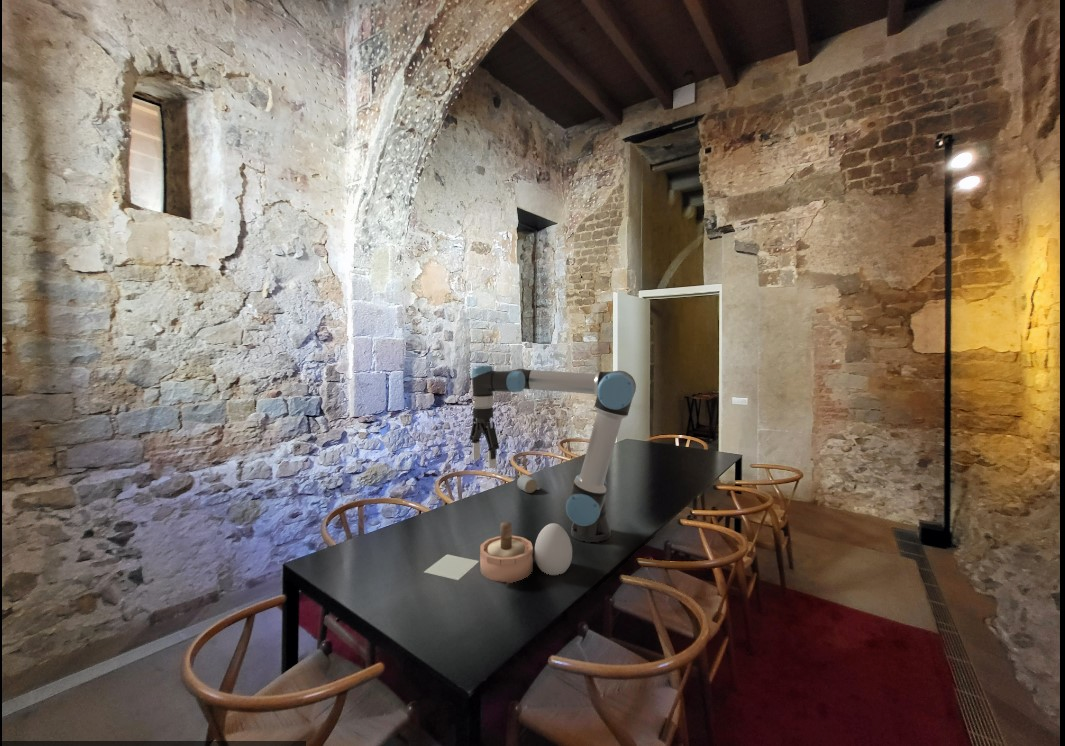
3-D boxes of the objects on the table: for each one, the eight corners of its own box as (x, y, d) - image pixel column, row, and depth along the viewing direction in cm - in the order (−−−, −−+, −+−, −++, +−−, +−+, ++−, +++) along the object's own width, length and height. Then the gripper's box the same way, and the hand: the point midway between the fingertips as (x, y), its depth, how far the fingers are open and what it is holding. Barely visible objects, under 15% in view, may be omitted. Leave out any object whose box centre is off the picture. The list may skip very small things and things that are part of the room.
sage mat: (479, 562, 149) (479, 561, 149) (458, 581, 137) (458, 580, 137) (446, 555, 154) (446, 554, 154) (423, 573, 142) (423, 572, 142)
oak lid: (530, 546, 147) (530, 520, 146) (515, 563, 136) (514, 534, 135) (498, 540, 151) (498, 515, 151) (480, 556, 140) (480, 528, 140)
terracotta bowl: (540, 562, 148) (540, 540, 148) (519, 588, 133) (518, 563, 132) (495, 553, 155) (495, 532, 155) (470, 576, 140) (469, 553, 139)
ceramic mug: (525, 495, 215) (525, 479, 215) (516, 490, 222) (516, 475, 222) (543, 491, 221) (543, 476, 221) (534, 487, 228) (534, 472, 227)
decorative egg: (567, 558, 151) (566, 515, 150) (576, 576, 139) (576, 530, 138) (531, 561, 149) (531, 518, 148) (538, 580, 137) (538, 533, 136)
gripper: (460, 404, 173) (461, 457, 174) (488, 412, 152) (489, 472, 153) (478, 402, 177) (479, 455, 178) (507, 410, 156) (508, 469, 157)
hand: (484, 463), depth 166 cm, fingers open, 13 cm apart
